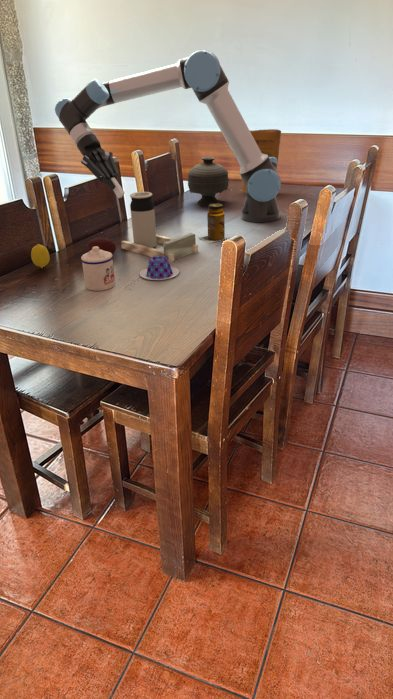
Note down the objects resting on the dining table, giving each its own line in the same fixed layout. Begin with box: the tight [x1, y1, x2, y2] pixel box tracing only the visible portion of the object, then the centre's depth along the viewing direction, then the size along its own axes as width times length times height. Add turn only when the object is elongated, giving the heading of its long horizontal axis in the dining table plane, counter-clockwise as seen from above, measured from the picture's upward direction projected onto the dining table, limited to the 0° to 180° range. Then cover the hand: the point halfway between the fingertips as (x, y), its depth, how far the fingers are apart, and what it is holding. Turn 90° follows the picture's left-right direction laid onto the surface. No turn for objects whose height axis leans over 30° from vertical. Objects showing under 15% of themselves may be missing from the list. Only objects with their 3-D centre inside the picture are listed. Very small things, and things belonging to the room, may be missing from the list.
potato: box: [87, 236, 117, 255], centre depth 177 cm, size 7×10×6 cm
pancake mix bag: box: [240, 128, 282, 194], centre depth 242 cm, size 7×19×28 cm, turn 74°
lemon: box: [30, 243, 50, 269], centre depth 168 cm, size 6×6×8 cm
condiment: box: [199, 203, 230, 244], centre depth 187 cm, size 7×8×12 cm
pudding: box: [139, 256, 180, 281], centre depth 160 cm, size 12×12×5 cm
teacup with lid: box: [80, 246, 116, 292], centre depth 153 cm, size 12×9×12 cm
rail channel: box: [120, 232, 199, 264], centre depth 180 cm, size 24×13×6 cm, turn 48°
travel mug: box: [129, 191, 158, 249], centre depth 181 cm, size 8×8×18 cm
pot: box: [187, 156, 229, 207], centre depth 231 cm, size 18×18×20 cm
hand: (121, 195), depth 183 cm, fingers closed
